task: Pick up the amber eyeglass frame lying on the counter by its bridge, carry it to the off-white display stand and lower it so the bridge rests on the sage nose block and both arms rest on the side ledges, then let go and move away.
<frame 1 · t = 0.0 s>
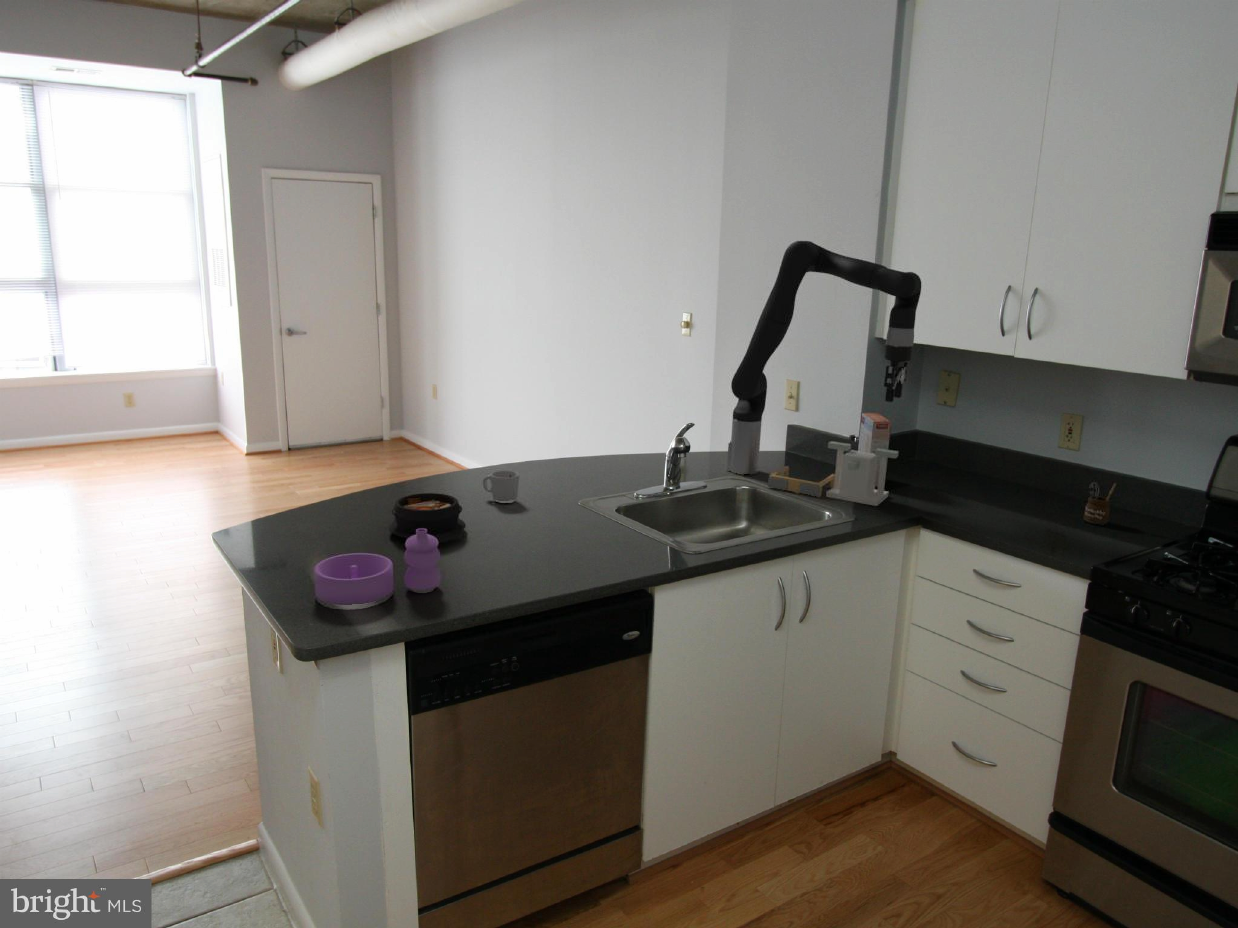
hand: (893, 399, 258), 29 cm above the counter, tool pointing down, fingers open, 8 cm apart
container set: (379, 594, 184), on the counter
display stand: (857, 496, 265), on the counter
cracker box: (869, 482, 281), on the counter
utensil holder: (1095, 523, 247), on the counter
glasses: (794, 492, 267), on the counter
casserole: (427, 534, 221), on the counter
cup: (500, 501, 249), on the counter
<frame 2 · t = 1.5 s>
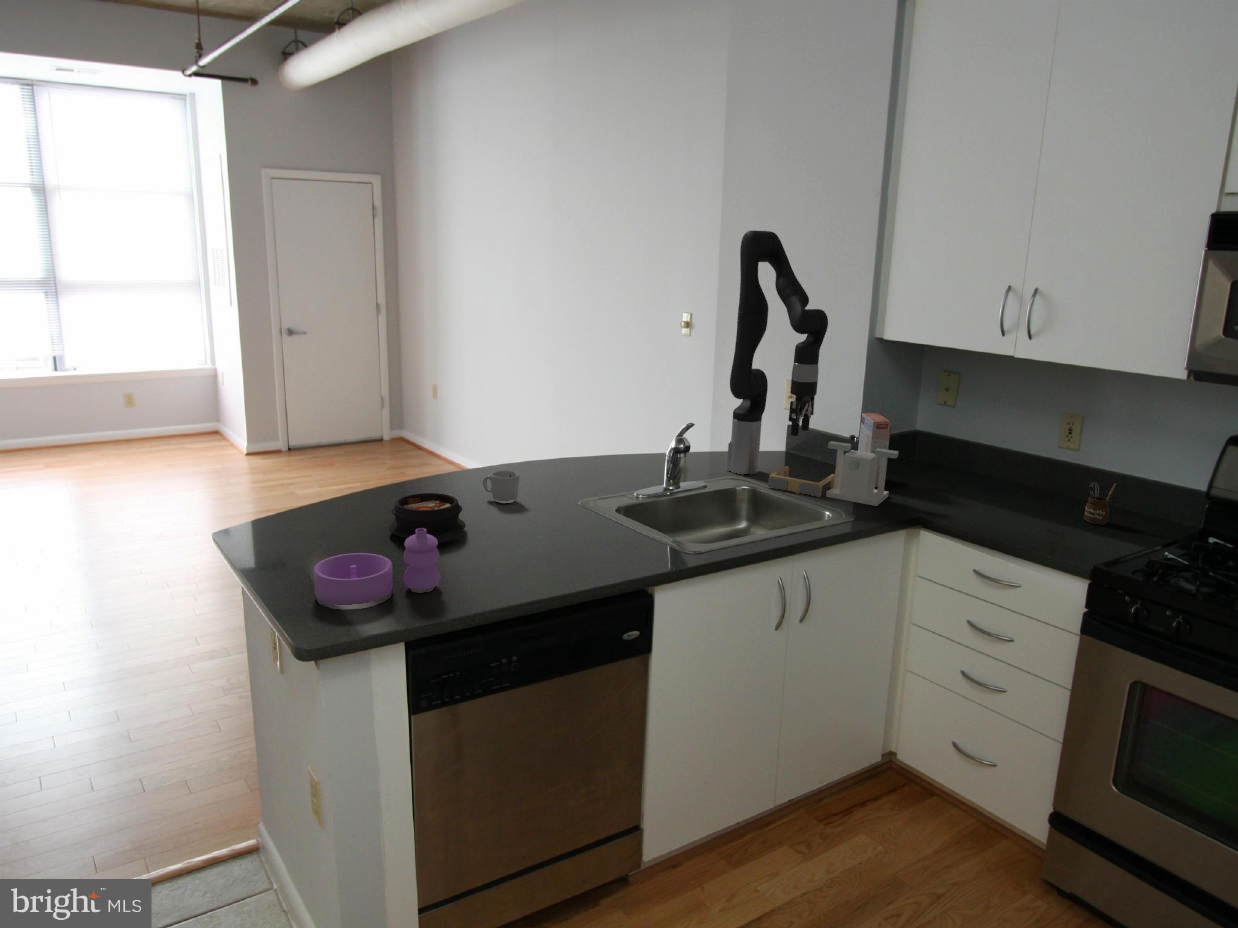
hand: (799, 433, 263), 18 cm above the counter, tool pointing down, fingers open, 8 cm apart
nothing on the counter moved.
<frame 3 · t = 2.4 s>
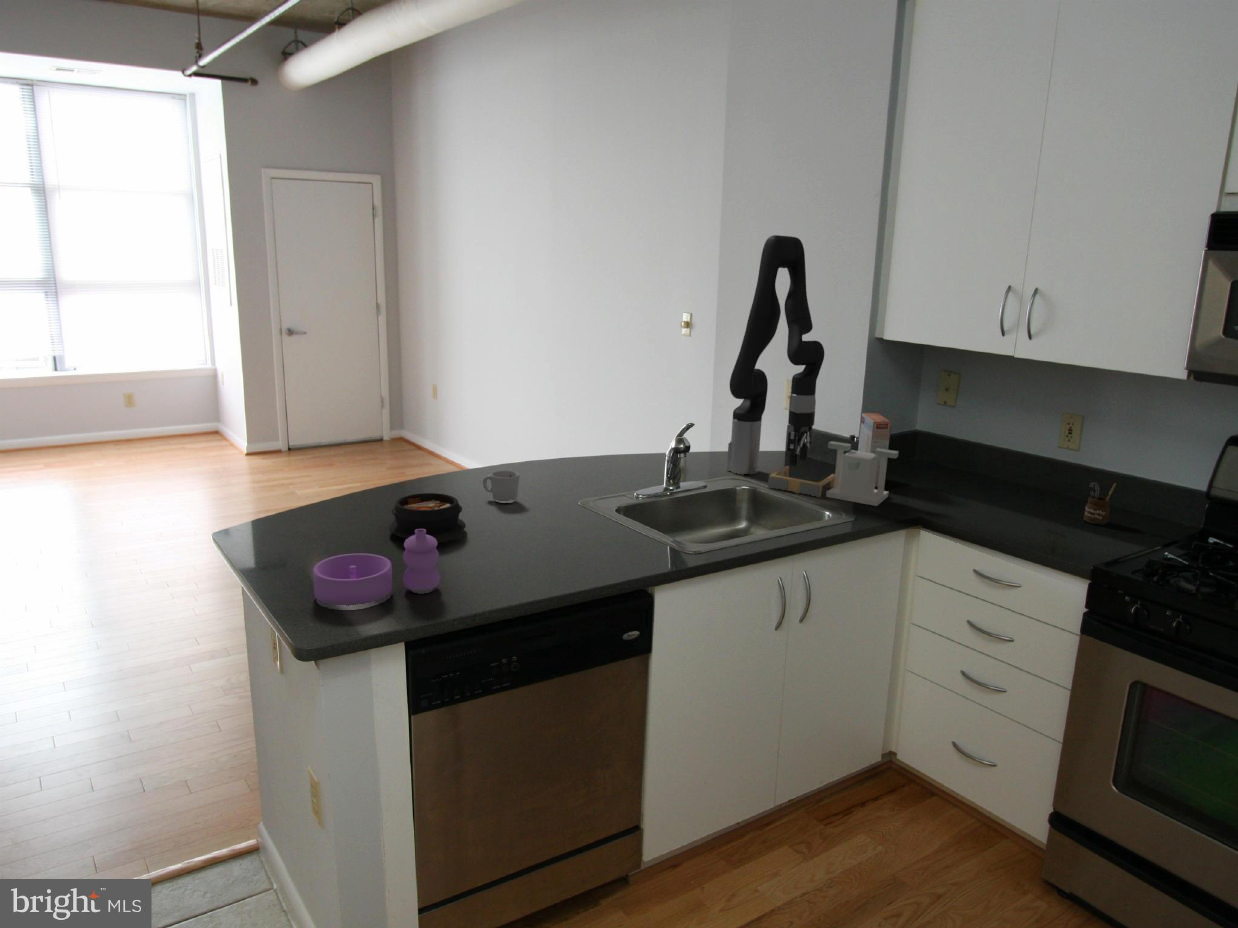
hand: (798, 462, 265), 9 cm above the counter, tool pointing down, fingers open, 8 cm apart
nothing on the counter moved.
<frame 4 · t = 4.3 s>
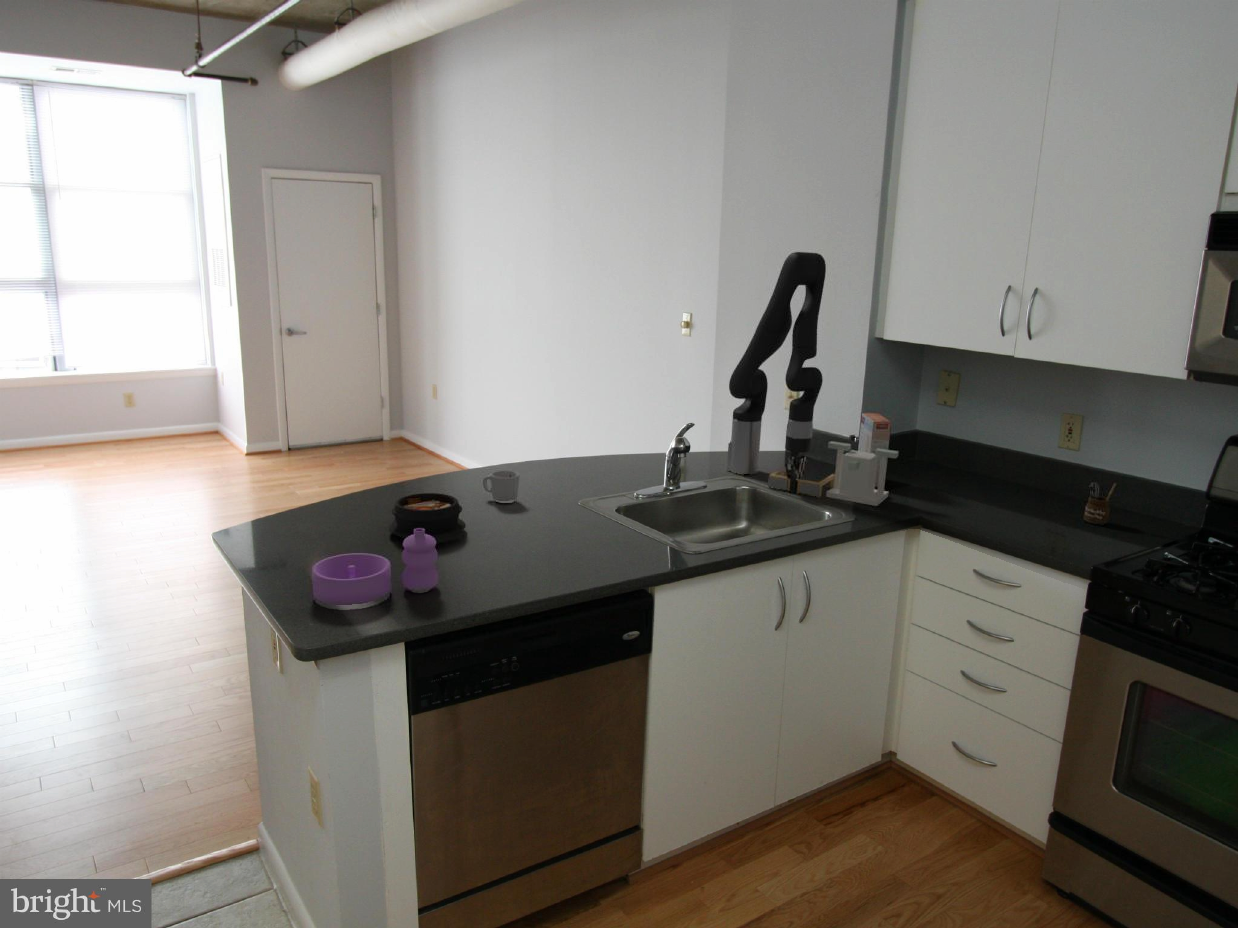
hand: (794, 490, 267), 0 cm above the counter, tool pointing down, fingers closed on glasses
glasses: (794, 491, 267), on the counter, touching gripper
everything else where it was.
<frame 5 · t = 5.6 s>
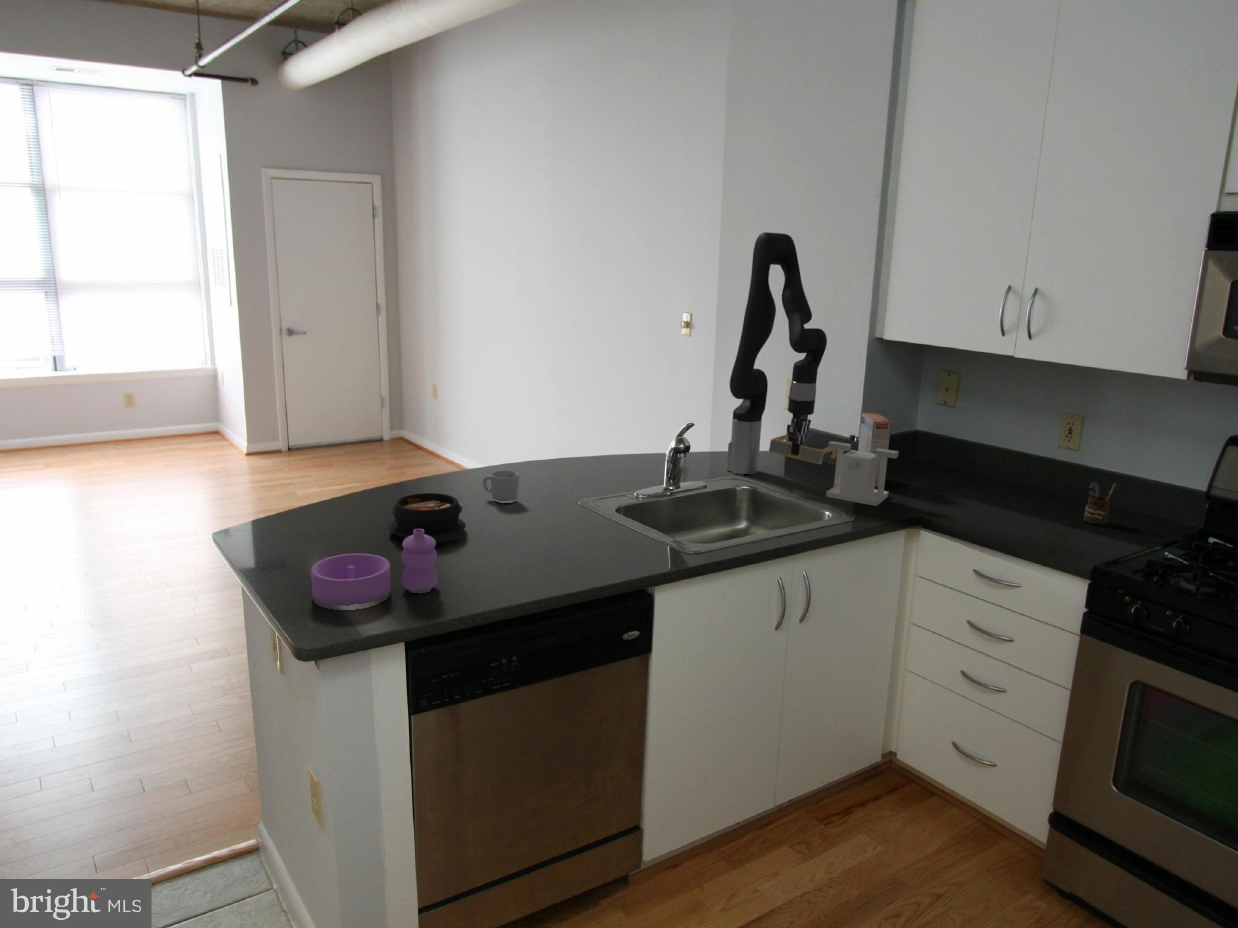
hand: (796, 454, 265), 12 cm above the counter, tool pointing down, fingers closed on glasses, 2 cm apart
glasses: (795, 457, 265), point 10 cm above the counter, tilted 6°, touching display stand, gripper
everything else where it was.
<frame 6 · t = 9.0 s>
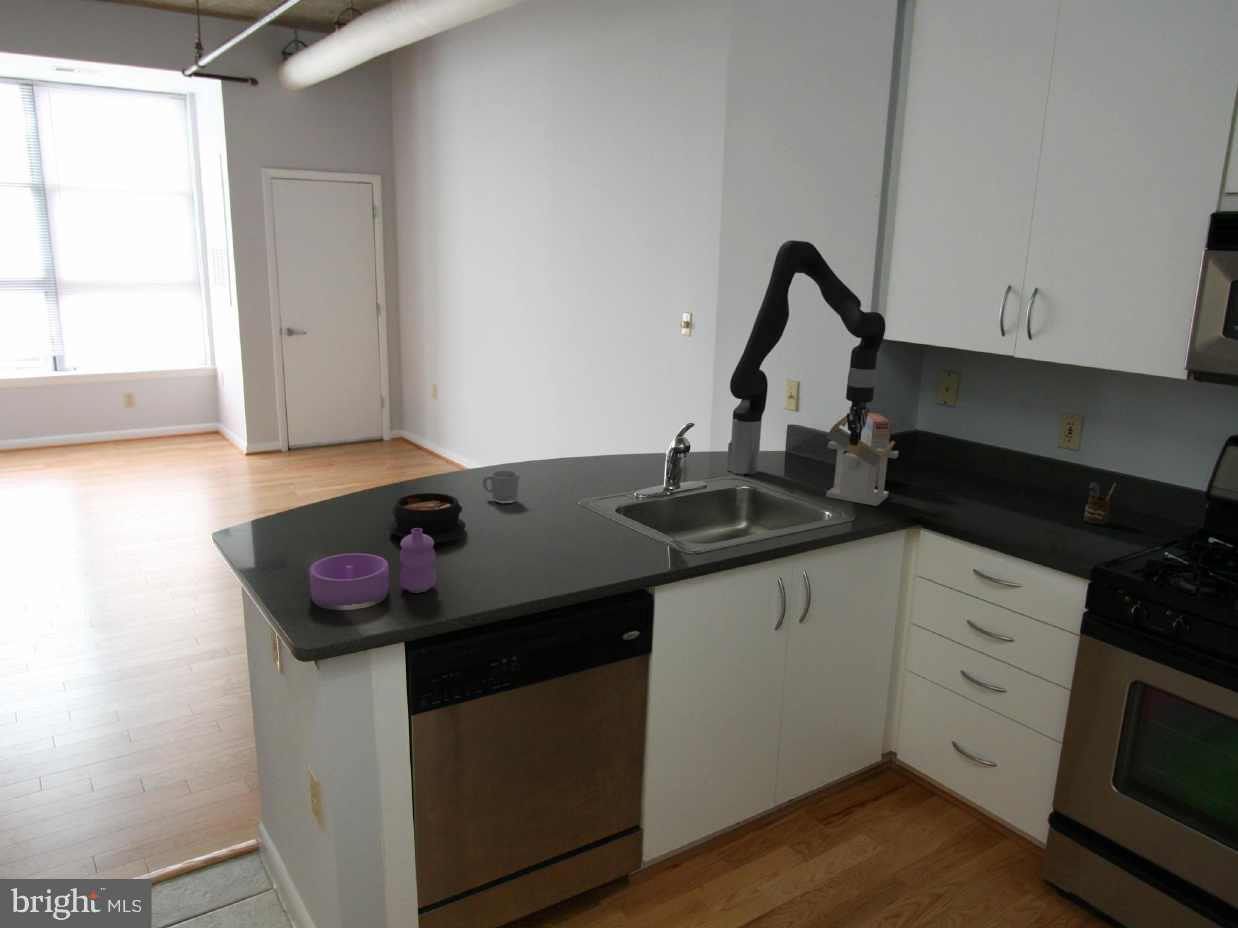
hand: (854, 444, 254), 17 cm above the counter, tool pointing down, fingers closed on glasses, 2 cm apart
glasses: (851, 451, 256), point 15 cm above the counter, tilted 26°, touching display stand, gripper
everything else where it was.
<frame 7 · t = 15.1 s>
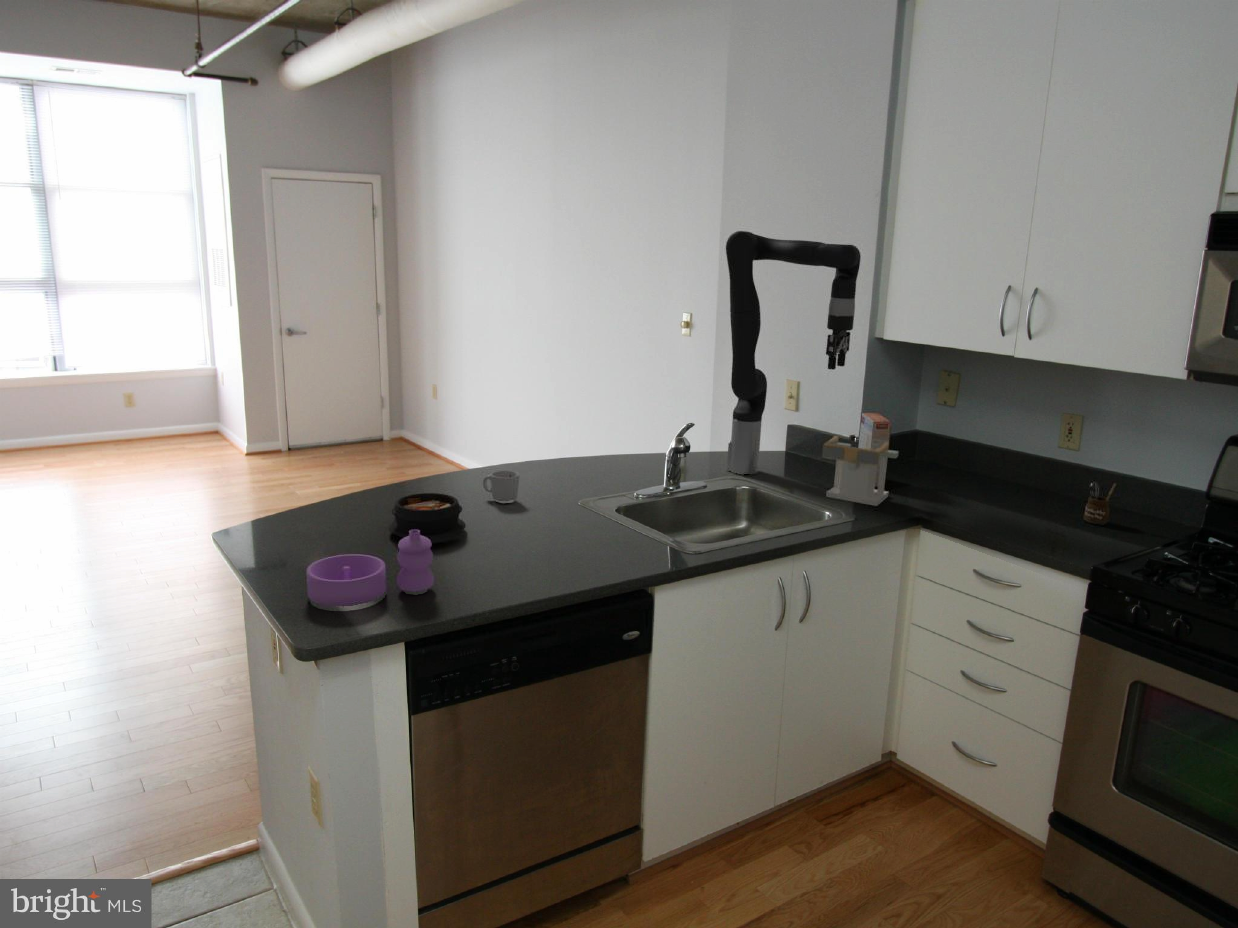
hand: (836, 367, 269), 36 cm above the counter, tool pointing down, fingers open, 8 cm apart
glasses: (850, 461, 257), point 12 cm above the counter, touching display stand
at the end: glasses 1.3 cm from the target spot on the display stand, point 12.0 cm above the display stand's base; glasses tilted 0°; the gripper is holding nothing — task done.
